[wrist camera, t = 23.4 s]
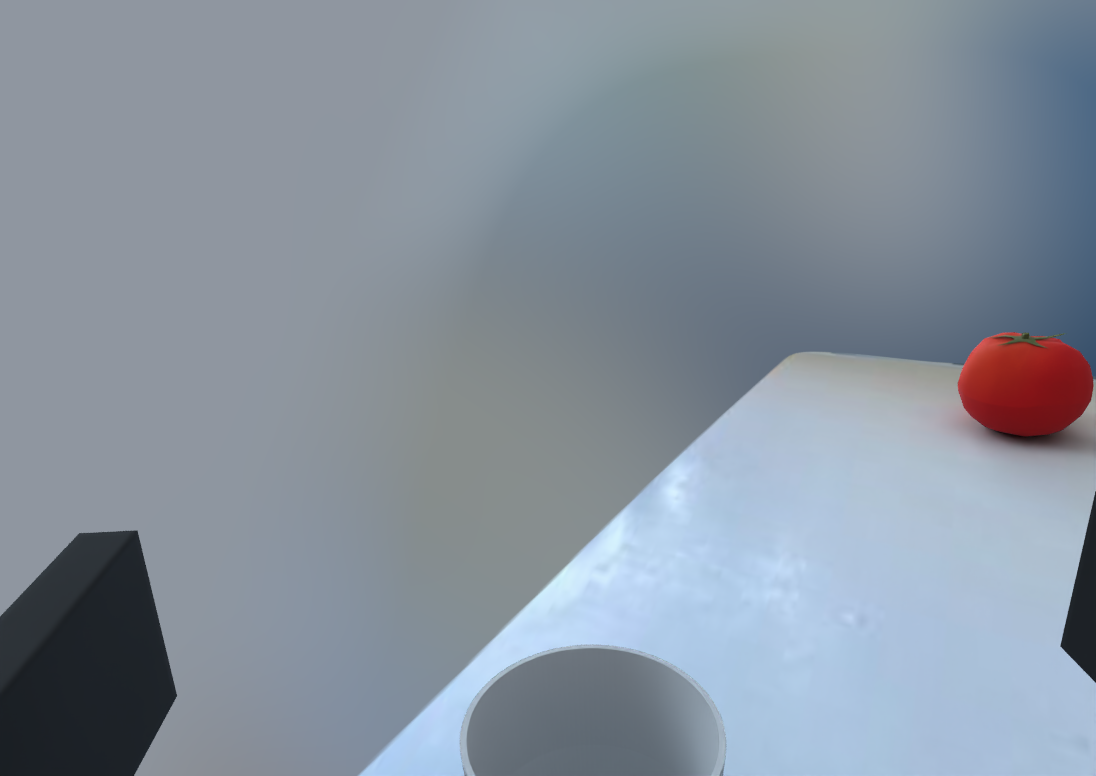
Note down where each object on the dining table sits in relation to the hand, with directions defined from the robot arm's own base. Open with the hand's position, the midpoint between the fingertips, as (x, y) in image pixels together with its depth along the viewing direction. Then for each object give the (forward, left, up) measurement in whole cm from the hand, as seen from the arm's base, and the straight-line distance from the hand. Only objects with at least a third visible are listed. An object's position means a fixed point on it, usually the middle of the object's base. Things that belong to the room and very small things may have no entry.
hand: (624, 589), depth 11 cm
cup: (-6, +9, -22) cm, 25 cm away
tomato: (+2, +67, -23) cm, 70 cm away
